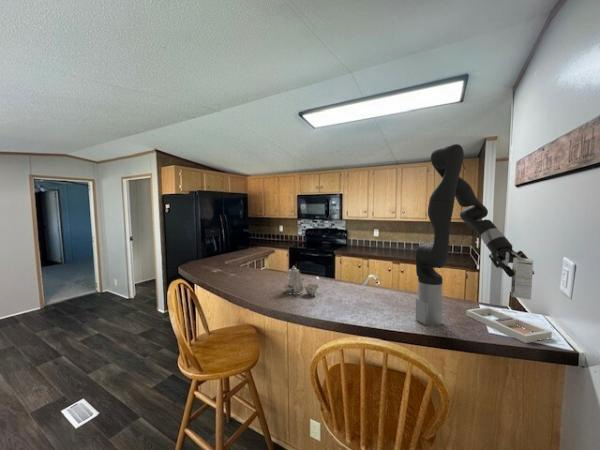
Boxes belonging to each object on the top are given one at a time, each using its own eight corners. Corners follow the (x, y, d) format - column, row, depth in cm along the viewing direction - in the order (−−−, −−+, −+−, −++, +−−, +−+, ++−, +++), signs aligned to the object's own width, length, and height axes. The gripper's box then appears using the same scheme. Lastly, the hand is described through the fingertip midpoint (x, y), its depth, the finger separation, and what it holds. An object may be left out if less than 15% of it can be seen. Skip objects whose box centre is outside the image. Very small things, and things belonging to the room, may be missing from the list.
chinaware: (323, 298, 144) (325, 269, 144) (299, 301, 134) (301, 270, 134) (296, 286, 167) (298, 261, 167) (274, 288, 158) (276, 262, 157)
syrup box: (510, 293, 101) (512, 257, 100) (530, 296, 97) (532, 258, 96) (510, 297, 96) (512, 259, 95) (531, 300, 93) (533, 261, 92)
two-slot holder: (525, 343, 90) (525, 335, 90) (465, 315, 114) (466, 309, 113) (551, 338, 93) (551, 331, 93) (488, 312, 116) (488, 306, 116)
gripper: (486, 236, 103) (513, 271, 92) (516, 235, 105) (546, 269, 94) (475, 247, 108) (499, 281, 98) (504, 246, 110) (530, 279, 100)
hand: (522, 275), depth 96 cm, fingers closed on syrup box, 8 cm apart
